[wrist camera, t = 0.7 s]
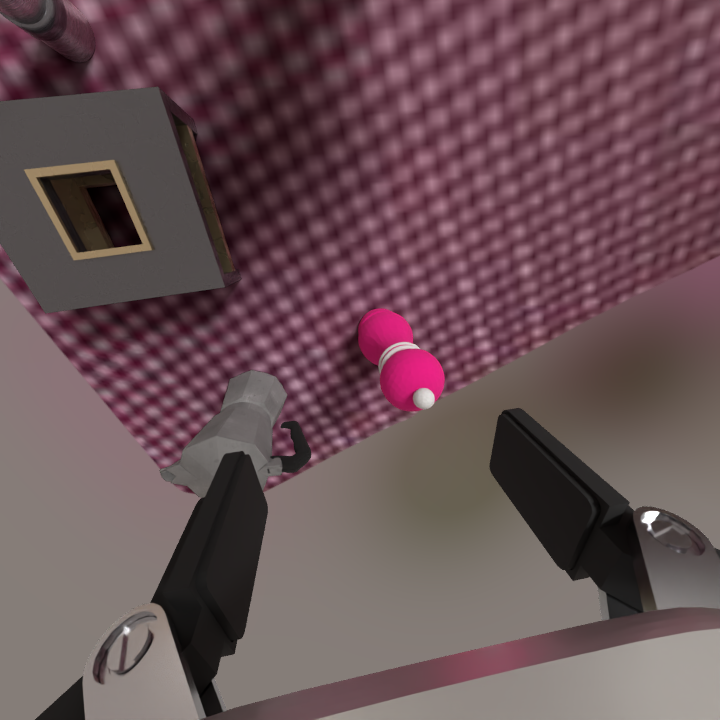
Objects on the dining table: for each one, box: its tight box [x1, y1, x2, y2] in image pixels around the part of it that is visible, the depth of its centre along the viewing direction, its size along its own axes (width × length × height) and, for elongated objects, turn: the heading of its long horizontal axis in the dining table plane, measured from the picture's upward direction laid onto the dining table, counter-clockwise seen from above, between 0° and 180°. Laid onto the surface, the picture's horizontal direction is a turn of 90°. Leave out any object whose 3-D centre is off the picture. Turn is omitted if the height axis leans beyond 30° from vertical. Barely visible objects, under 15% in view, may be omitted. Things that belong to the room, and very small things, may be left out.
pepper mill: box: [358, 309, 445, 411], centre depth 30 cm, size 7×7×20 cm
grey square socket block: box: [0, 87, 241, 313], centre depth 27 cm, size 18×16×7 cm
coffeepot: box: [160, 370, 311, 498], centre depth 33 cm, size 15×9×18 cm, turn 89°
